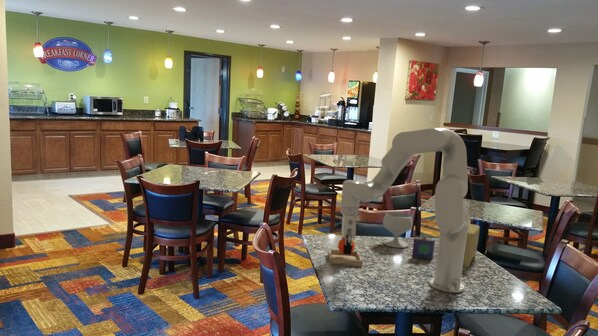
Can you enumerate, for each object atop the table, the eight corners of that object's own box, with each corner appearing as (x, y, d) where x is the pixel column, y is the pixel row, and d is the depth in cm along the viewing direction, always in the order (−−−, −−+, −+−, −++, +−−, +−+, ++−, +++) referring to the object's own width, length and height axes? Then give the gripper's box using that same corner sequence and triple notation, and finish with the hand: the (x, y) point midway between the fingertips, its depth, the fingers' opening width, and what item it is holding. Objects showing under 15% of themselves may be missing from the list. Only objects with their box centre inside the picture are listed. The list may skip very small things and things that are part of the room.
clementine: (354, 258, 192) (356, 241, 191) (337, 256, 192) (339, 239, 191) (353, 252, 200) (354, 236, 199) (336, 250, 200) (338, 234, 199)
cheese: (478, 269, 199) (482, 235, 197) (454, 265, 202) (458, 231, 200) (476, 255, 220) (480, 224, 218) (454, 252, 223) (458, 221, 221)
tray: (362, 267, 190) (362, 261, 190) (330, 264, 190) (330, 258, 189) (357, 256, 203) (358, 251, 203) (328, 254, 203) (328, 249, 202)
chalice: (405, 251, 217) (408, 219, 215) (376, 244, 224) (379, 214, 222) (413, 244, 229) (417, 214, 227) (386, 238, 236) (389, 209, 234)
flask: (432, 258, 209) (434, 235, 208) (433, 260, 206) (436, 237, 205) (411, 256, 209) (413, 233, 208) (412, 258, 207) (415, 235, 205)
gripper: (361, 215, 185) (357, 258, 187) (355, 206, 202) (352, 245, 204) (342, 214, 185) (339, 256, 187) (338, 205, 202) (335, 244, 204)
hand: (346, 250), depth 196 cm, fingers closed on clementine, 8 cm apart
